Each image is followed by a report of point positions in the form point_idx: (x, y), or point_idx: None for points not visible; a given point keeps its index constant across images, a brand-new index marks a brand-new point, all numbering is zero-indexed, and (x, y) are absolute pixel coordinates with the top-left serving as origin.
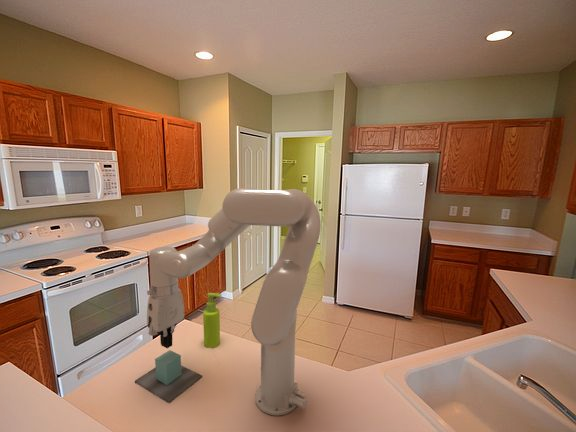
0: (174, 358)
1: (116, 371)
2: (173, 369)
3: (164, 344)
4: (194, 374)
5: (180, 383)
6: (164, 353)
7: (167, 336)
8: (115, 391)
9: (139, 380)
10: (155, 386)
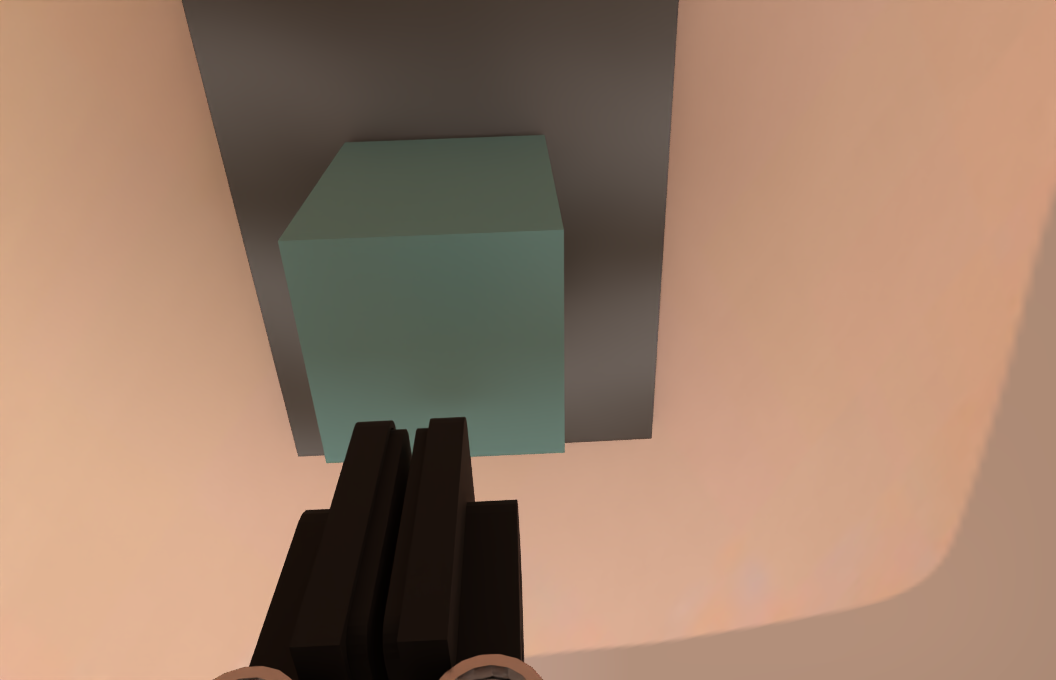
0: (391, 252)
1: (639, 615)
2: (441, 181)
3: (505, 513)
4: (224, 17)
5: (426, 35)
6: None
7: (445, 638)
8: (785, 450)
9: (631, 410)
10: (606, 230)
